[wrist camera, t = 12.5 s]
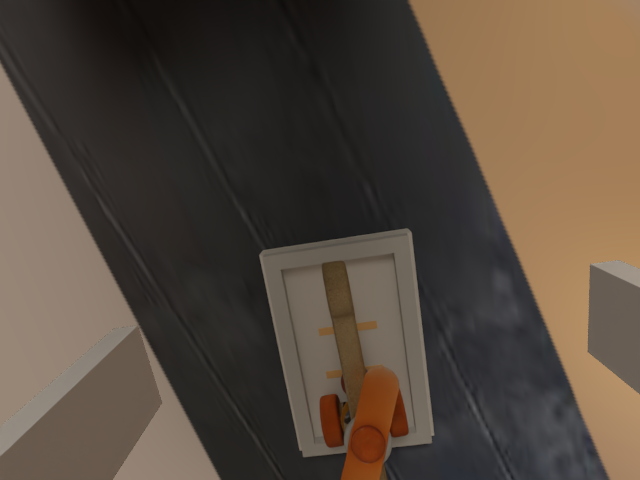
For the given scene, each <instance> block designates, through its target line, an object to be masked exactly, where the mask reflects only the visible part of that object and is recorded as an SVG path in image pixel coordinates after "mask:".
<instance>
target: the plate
mask: <svg viewBox="0 0 640 480" xmlns="http://www.w3.org/2000/svg"><path fill="white" fill-rule="evenodd" d="M259 257H260V262H261V266H262V271H263V276H264V281H265V286H266V291H267V295H268V300H269V305H270V310H271V315H272V319H273V324H274V329H275V334H276V339H277V344H278V348H279V353H280V358H281V363H282V368H283V373H284V377H285V382H286V387H287V392H288V397H289V402H290V406H291V411H292V416H293V421H294V426H295V431H296V435H297V440H298V445H299V450H300V451H301V450H302V453H303V457H311V456H320V455H329V454H338V453H346V450H345V447H344V445H343V446H339V447H333V448H329V447H327V445H326V443H325V440H324V436H323V432H322V427H321V420H320V407H319V404H320V398H321V397H322V396H324V395H329V394H337V395H338V397H339V400H340V403H342V402H347V401H348V400H347V395H346V393H345V392H344V391H343V389H342V386H341V377H342V369H341V364H340V359H339V354H338V349H337V345H336V340H335V335H334V330H333V325H332V320H331V316H330V312H329V308H328V303H327V297H326V292H325V286H324V281H323V274H322V264H323V263H326V262H333V261H344V263H345V265H346V269H347V274H348V279H349V284H350V289H351V295H352V300H353V306H354V312H355V319H356V324H357V329H358V334H359V339H360V344H361V349H362V355H363V360H364V365H365V368H366V369H367V370H368V371H369V370H370V369H371V368H373V367H376V366H384V367H387V368H389V369H390V370H392V371H393V372H394V373H395V374H396V376H397V378H398V380H399V388H400V391H401V395H402V398H403V403H404V407H405V412H406V417H407V422H408V429H409V432H408V434H407V435H406V436H401V437H395V438H394V437H392V447H401V446H410V445H419V444H428V443H432V438H431V436H434V428H433V419H432V410H431V401H430V392H429V384H428V375H427V366H426V357H425V348H424V339H423V330H422V321H421V312H420V303H419V294H418V285H417V276H416V268H415V259H414V250H413V241H412V232H411V231H410V230H409V229H408V228H406V229H399V230H392V231H386V232H379V233H373V234H366V235H360V236H353V237H346V238H340V239H333V240H327V241H320V242H313V243H307V244H300V245H294V246H287V247H281V248H274V249H267V250H263V251H262V252H261V254H260V255H259Z"/></svg>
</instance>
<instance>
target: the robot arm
mask: <svg viewBox="0 0 640 480" xmlns="http://www.w3.org/2000/svg"><path fill="white" fill-rule="evenodd" d="M588 328H589V329H588V352H589V353H590V354H591V355H592V356H594V357H595V358H596V359H597V360H599V361H600V362H601V363H602V364H603V365H605V366H606V367H607V368H608V369H610V370H611V371H612V372H613V373H615V374H616V375H617V376H618V377H619V378H621V379H622V380H623V381H624V382H625V383H627V384H628V385H629V386H630V387H632V388H633V389H634V390H635V391H637V392H638V393H639V394H640V269H639V268H637V267H634V266H632V265H629V264H627V263H625V262H622V261H620V260H617V261H610V262H603V263H595V264H590V290H589V326H588ZM161 404H162V401H161V398H160V395H159V391H158V388H157V385H156V382H155V379H154V375H153V372H152V369H151V366H150V363H149V360H148V356H147V353H146V350H145V347H144V343H143V340H142V337H141V334H140V331H139V327H138V325H137V326H131V327H123V328H116V329H113V330H112V331H110V332H109V333H108V334H107V335H106V336H105V337H104V338H102V339H101V340H100V341H99V342H98V343H97V344H95V345H94V346H93V347H92V348H91V349H90V350H88V351H87V352H86V353H85V354H84V355H83V356H81V357H80V358H79V359H78V360H77V361H76V362H74V363H73V364H72V365H71V366H70V367H69V368H67V369H66V370H65V371H64V372H63V373H62V374H61V375H59V376H58V377H57V378H56V379H55V380H54V381H52V382H51V383H50V384H49V385H48V386H47V387H45V388H44V389H43V390H42V391H41V392H40V393H39V394H37V395H36V396H35V397H34V398H33V399H32V400H30V401H29V402H28V403H27V404H26V405H24V407H22V408H21V409H20V410H19V411H18V412H16V413H15V414H14V415H13V416H12V417H11V418H9V419H8V420H7V421H6V422H5V423H4V424H3V425H1V426H0V480H113V478H114V477H115V475H116V474H117V472H118V470H119V469H120V467H121V466H122V464H123V463H124V461H125V459H126V458H127V456H128V455H129V453H130V452H131V450H132V449H133V447H134V446H135V444H136V443H137V441H138V439H139V438H140V436H141V435H142V433H143V432H144V430H145V428H146V427H147V426H148V424H149V422H150V421H151V419H152V418H153V416H154V415H155V413H156V412H157V410H158V408H159V407H160V405H161Z"/></svg>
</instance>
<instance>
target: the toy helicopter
mask: <svg viewBox="0 0 640 480" xmlns="http://www.w3.org/2000/svg"><path fill="white" fill-rule="evenodd" d="M322 274H323V281H324V286H325V292H326V297H327V303H328V308H329V312H330V316H331V320H332V325H333V330H334V335H335V340H336V345H337V349H338V354H339V359H340V364H341V369H342V377H341V386H342V389H343V391H344V392H345V393H346V395H347V400H348V401H347V402H342V403H340V400H339V397H338V395H337V394H329V395H324V396H322V397H321V398H320V404H319V407H320V420H321V427H322V432H323V436H324V440H325V443H326V445H327V447H329V448H333V447H339V446H343V445H344V447H345V450H346V453H347V456H346V460H345V464H344V468H343V472H342V476H341V480H387V476H386V471H385V465H384V462H385V461H386V460H387V459H388V457H389V455H390V453H391V449H392V437H394V438H395V437H401V436H406V435H407V434H408V432H409V429H408V422H407V417H406V412H405V407H404V403H403V398H402V395H401V391H400V388H399V380H398V378H397V376H396V374H395V373H394V372H393V371H392V370H390V369H389V368H387V367H384V366H376V367H373V368H371V369H370V370H369V371H368V370H367V369H366V368H365V365H364V360H363V355H362V349H361V344H360V339H359V334H358V329H357V324H356V319H355V312H354V306H353V300H352V295H351V289H350V284H349V279H348V274H347V269H346V265H345V263H344V261H333V262H326V263H323V264H322Z"/></svg>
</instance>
